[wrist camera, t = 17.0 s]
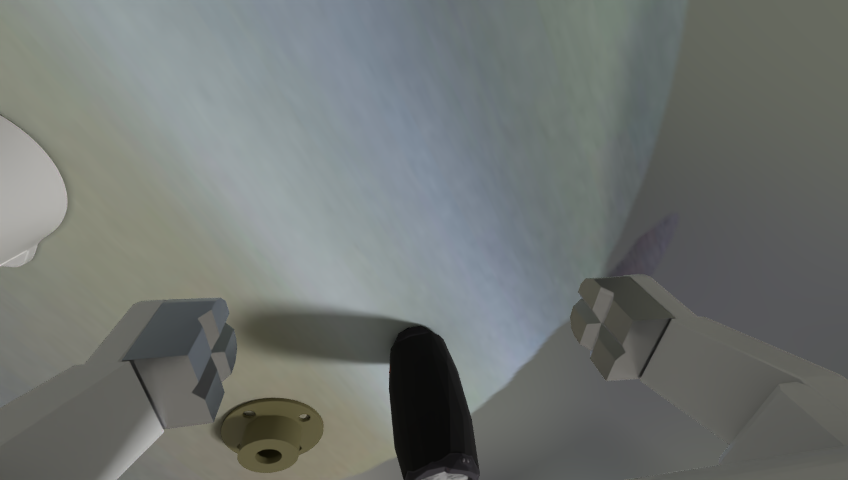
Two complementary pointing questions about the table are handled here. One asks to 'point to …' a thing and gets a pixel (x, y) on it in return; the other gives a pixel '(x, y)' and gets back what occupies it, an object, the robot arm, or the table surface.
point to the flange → (271, 433)
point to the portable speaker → (429, 410)
